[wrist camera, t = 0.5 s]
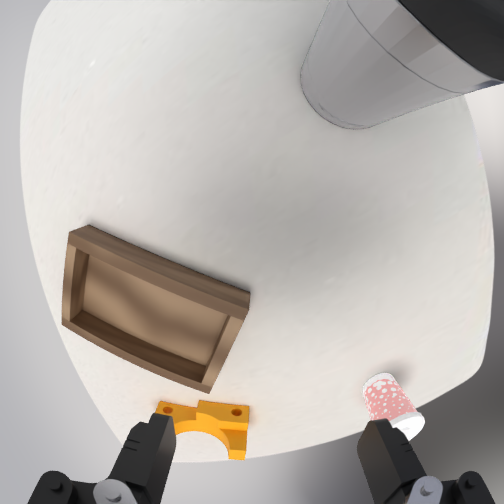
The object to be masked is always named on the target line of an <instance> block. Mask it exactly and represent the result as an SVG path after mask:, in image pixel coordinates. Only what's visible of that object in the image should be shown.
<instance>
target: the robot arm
mask: <svg viewBox="0 0 504 504" xmlns="http://www.w3.org/2000/svg"><path fill="white" fill-rule="evenodd" d="M503 83H504V0H330V2H329V5H328V7H327V9H326V11H325V14H324V16H323V18H322V21H321V23H320V25H319V28H318V30H317V33H316V35H315V37H314V40H313V42H312V44H311V46H310V49H309V51H308V54H307V56H306V59H305V61H304V63H303V66H302V70H301V85H302V89H303V92H304V94H305V96H306V98H307V100H308V102H309V103H310V105H311V106H312V107H313V108H314V109H315V111H316V112H318V113H319V114H320V115H321V116H322V117H323V118H325V119H326V120H328V121H330V122H331V123H333V124H336V125H338V126H341V127H344V128H349V129H364V128H368V127H372V126H374V125H377V124H379V123H382V122H385V121H387V120H390V119H393V118H396V117H398V116H401V115H404V114H406V113H409V112H412V111H415V110H417V109H420V108H423V107H426V106H429V105H432V104H435V103H438V102H441V101H444V100H447V99H450V98H453V97H457V96H460V95H463V94H466V93H470V92H473V91H476V90H480V89H483V88H487V87H491V86H495V85H499V84H503ZM175 448H176V434H175V429H174V423H173V417H172V416H168V415H163V414H158V413H153V414H152V416H151V418H150V420H149V423H144V422H139V423H138V424H137V425H135V426H134V427H133V428H132V429H131V430H130V433H129V435H128V437H127V440H126V441H125V443H124V445H123V448H122V450H121V452H120V454H119V456H118V458H117V460H116V463H115V465H114V467H113V469H112V471H111V473H110V475H109V476H108V478H106V479H105V480H103V481H100V482H99V483H84V482H78V481H72V480H70V479H69V478H68V477H67V476H66V475H65V474H63V473H61V472H59V471H48V472H46V473H44V474H43V475H42V476H41V478H40V480H39V482H38V484H37V486H36V487H35V489H34V491H33V493H32V496H31V497H30V499H29V502H28V504H160V503H161V499H162V495H163V492H164V488H165V484H166V481H167V477H168V474H169V470H170V466H171V463H172V459H173V456H174V452H175ZM357 452H358V456H359V459H360V461H361V464H362V467H363V470H364V473H365V476H366V479H367V482H368V485H369V488H370V491H371V494H372V497H373V500H374V503H375V504H495V502H494V500H493V498H492V496H491V494H490V492H489V490H488V488H487V486H486V484H485V483H484V481H483V479H482V477H481V476H480V475H479V474H478V473H477V472H474V471H468V472H465V473H464V474H463V475H461V476H460V477H459V479H457V480H450V481H442V482H441V481H440V480H438V479H437V478H435V477H432V476H427V475H426V473H425V471H424V469H423V467H422V465H421V463H420V462H419V460H418V458H417V456H416V454H415V453H414V451H413V448H412V446H411V445H410V444H409V441H408V439H407V437H406V435H405V434H404V433H403V432H402V431H401V430H399V429H398V428H397V427H395V428H393V427H392V425H391V423H390V422H389V420H388V419H387V418H384V419H378V420H371V421H369V422H368V424H367V426H366V428H365V430H364V432H363V434H362V436H361V438H360V439H359V441H358V445H357Z"/></svg>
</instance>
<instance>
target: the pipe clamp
mask: <svg viewBox="0 0 504 504" xmlns="http://www.w3.org/2000/svg"><path fill="white" fill-rule="evenodd" d="M155 413H158V414H163V415H168V416H172V417H173V423H174V429H175V434H176V435H177V434H179V433H182V432H187V431H200V432H205V433H208V434H211V435H213V436H215V437H217V438H218V439H219V440H220V441H222V442H223V444H224V445H225V446H226V448H227V451H228V455H229V459H235V460H244V459H245V454H246V443H247V429H248V421H249V406H242V405H232V404H223V403H215V402H208V401H201V400H199V403H198V407H197V408H194V407H188V406H182V405H177V404H172V403H167V402H163V401H160V402H159V404H158V407H157V409H156V412H155Z"/></svg>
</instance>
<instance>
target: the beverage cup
mask: <svg viewBox="0 0 504 504" xmlns="http://www.w3.org/2000/svg"><path fill="white" fill-rule="evenodd" d="M362 393H363V396H364V399H365V402H366V406H367V409H368V412H369V415H370V419H371V420H378V419H384V418H387V419H388V420H389V422H390V423H391V425H392V427H393V428H395V427H397V428H398V429H399V430H401V431H402V432H403V433H404V434H405V435H406V437H407V439H408V441H409V440H410V439H412V438H413V437H414V436H415V435H417V434H418V433H419V431H420V430H421V429H422V428H423V425H424V423H425V421H424V417H423V416H422V415H421V413H419V412H417V411H416V409H415V408H414V406H413V405H412V403H411V402H410V400H409V399H408V397H407V396H406V394H405V393H404V391H403V390H402V389H401V387H400V386H399V384H398V383H397V381H396V380H395V379H394V377H393V376H392V375H391V374H389V373H380V374H377V375H375V376H373V377H371V378H370V379H369V380H368V381H367V382H366V383H365V385H364V386H363V389H362Z"/></svg>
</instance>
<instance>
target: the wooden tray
mask: <svg viewBox="0 0 504 504" xmlns="http://www.w3.org/2000/svg"><path fill="white" fill-rule="evenodd" d="M249 303H250V292H248V291H245V290H242V289H240V288H237V287H235V286H232V285H229V284H227V283H224V282H222V281H219V280H217V279H214V278H212V277H209V276H207V275H204V274H202V273H199V272H197V271H194V270H192V269H189V268H187V267H184V266H182V265H180V264H177V263H175V262H172V261H170V260H168V259H165V258H163V257H160V256H158V255H156V254H153V253H151V252H149V251H146V250H144V249H142V248H139V247H137V246H135V245H133V244H130V243H128V242H126V241H123V240H121V239H119V238H117V237H115V236H112V235H110V234H108V233H106V232H103V231H101V230H99V229H97V228H95V227H93V226H90V225H87V226H84V227H81V228H78V229H76V230H73V231H70V232H69V236H68V243H67V250H66V258H65V268H64V279H63V294H62V325H63V326H65V327H66V328H68V329H70V330H71V331H73V332H75V333H76V334H78V335H80V336H81V337H83V338H85V339H87V340H88V341H90V342H92V343H94V344H95V345H97V346H99V347H101V348H103V349H105V350H107V351H109V352H111V353H112V354H114V355H116V356H118V357H120V358H122V359H125V360H127V361H129V362H131V363H133V364H135V365H137V366H139V367H142V368H144V369H146V370H148V371H151V372H153V373H155V374H158V375H160V376H162V377H165V378H167V379H170V380H172V381H175V382H177V383H180V384H183V385H185V386H188V387H191V388H193V389H196V390H199V391H202V392H205V393H208V394H209V393H210V391H211V389H212V387H213V385H214V383H215V381H216V379H217V377H218V374H219V372H220V370H221V368H222V366H223V364H224V362H225V360H226V358H227V356H228V354H229V351H230V349H231V347H232V345H233V343H234V341H235V339H236V337H237V334H238V332H239V330H240V328H241V326H242V324H243V322H244V319H245V317H246V315H247V313H248V311H249Z"/></svg>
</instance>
